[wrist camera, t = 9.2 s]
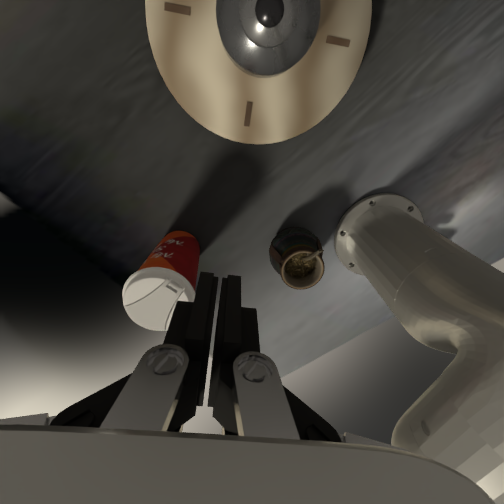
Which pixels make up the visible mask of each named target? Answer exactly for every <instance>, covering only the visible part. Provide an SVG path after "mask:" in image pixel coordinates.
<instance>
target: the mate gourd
mask: <svg viewBox="0 0 504 504" xmlns="http://www.w3.org/2000/svg"><path fill="white" fill-rule="evenodd" d="M323 251H324V250H322V246H321V243H320V241H319V239H318V237H316V236H315V235H314V234H312V233H311V232H310V231H308V230H306V229H303V228H299V227H290V228H287V229H284V230H282V231H281V232H279V233H278V234H277V236H276V237H275V238H274V239H273V240H272V242H271V246H270V248H269V255H270V261H271V264H272V266H273V267H274V269H275V270H276V271H277V272H278V274H280V275H281V277H282V280H283V281H284V282H285V284H286V285H288V286H289V287H291V288H294V289H307V288H310V287H312V286H314V285H315V284H317V283H318V282H319V281H320V279H321V278H322V276H323V273H324V262H323V259H322V255H323Z"/></svg>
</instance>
